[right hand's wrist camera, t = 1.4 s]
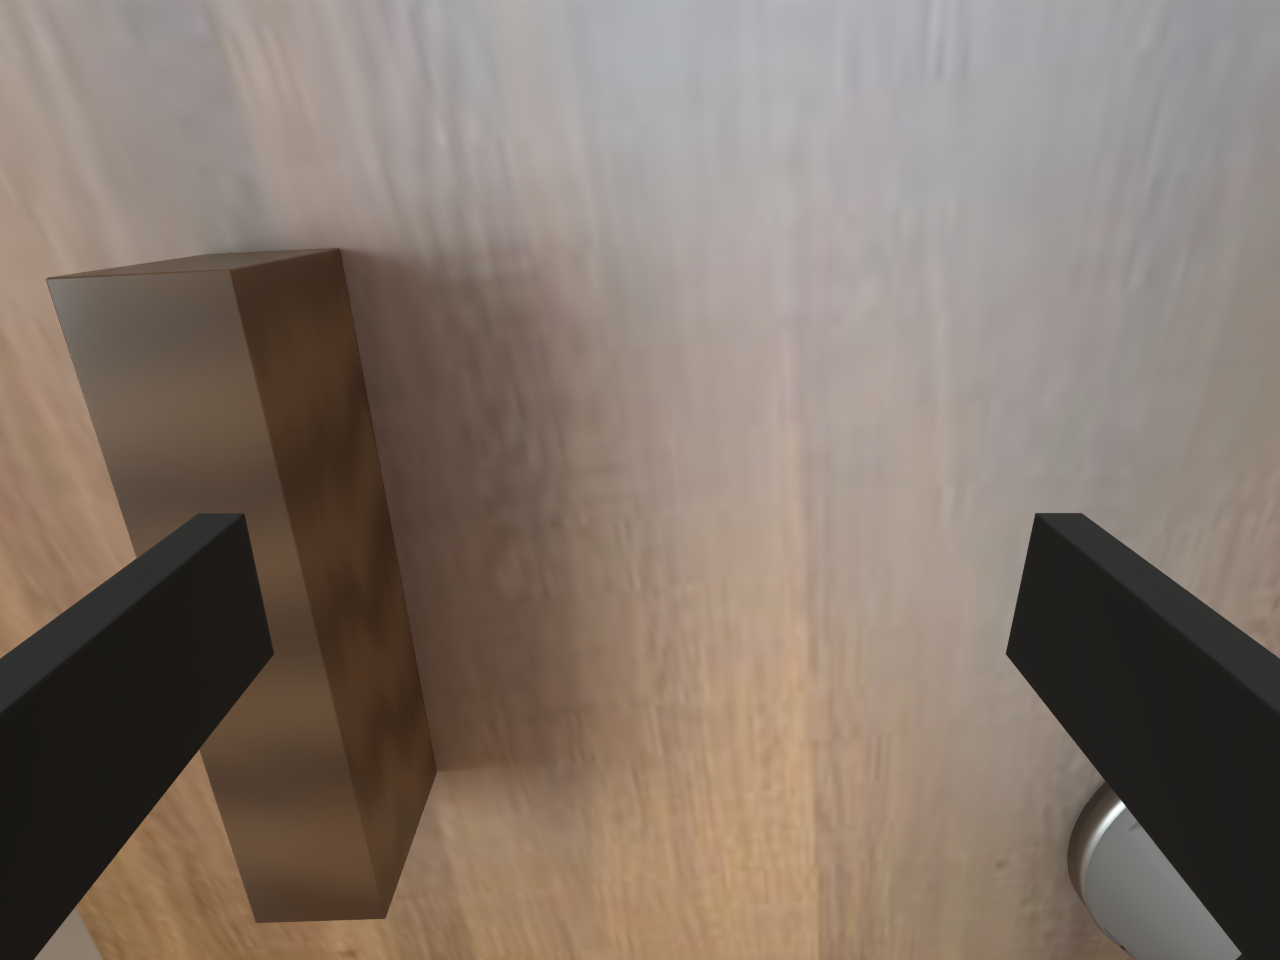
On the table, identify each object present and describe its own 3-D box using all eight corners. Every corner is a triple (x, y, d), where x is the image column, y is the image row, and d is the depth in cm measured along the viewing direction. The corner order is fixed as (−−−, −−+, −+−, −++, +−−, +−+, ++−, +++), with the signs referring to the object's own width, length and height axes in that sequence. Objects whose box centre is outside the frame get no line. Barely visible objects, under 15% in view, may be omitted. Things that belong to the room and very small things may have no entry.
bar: (437, 772, 40) (385, 919, 32) (332, 776, 40) (255, 923, 32) (339, 247, 30) (230, 268, 22) (202, 254, 30) (44, 277, 22)
